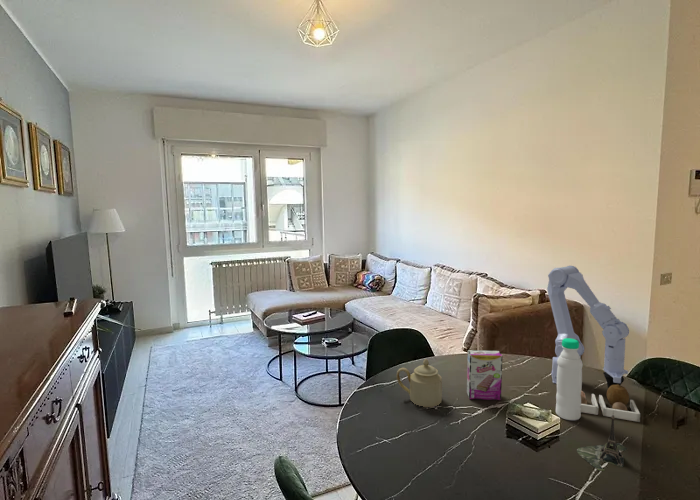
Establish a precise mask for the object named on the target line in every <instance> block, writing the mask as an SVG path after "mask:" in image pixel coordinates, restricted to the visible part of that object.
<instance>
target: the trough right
mask: <svg viewBox="0 0 700 500" xmlns="http://www.w3.org/2000/svg"><path fill="white" fill-rule="evenodd" d="M598 403H599V404H598V405H599V406H600V409H601V413H602V415H603V417H609V418H612V415H614V419H621V420H627V421H631V422H632V421H633V422H638V423H641V413H640V411H639V409H638V407H637V405H636V402H635V400H634V399H629V407H630V408H629V409H630V411H629V410H627V411H624V410H618V409H612V407H611V408H609V407H607V406H606V402H605V401H604V397H603V395H602V394H599V395H598Z"/></svg>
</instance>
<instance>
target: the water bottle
mask: <svg viewBox="0 0 700 500" xmlns="http://www.w3.org/2000/svg"><path fill="white" fill-rule="evenodd" d="M562 347H563V351H562V352H561V354H560V356H559V357H558V359H557V364H558V368H557V383H556V395H555V399H556V401H555V403H556V404H555V414H556V415H557V416H558V417H560V418H561V419H564V420H566V421H578V420H579V419H580V418H581V413H582V412H581V408H580V406H581V390H582V386H583V369H582V368H583V366H584V364H583V361H582V358H581V356H579V354H578V353H577V350H578V348H579V342H578V341H577V340H575V339H571V338H565V339H563V340H562Z"/></svg>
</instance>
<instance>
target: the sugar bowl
mask: <svg viewBox="0 0 700 500" xmlns="http://www.w3.org/2000/svg"><path fill="white" fill-rule="evenodd" d="M429 364H430V363H429V360H428V359H427V358H425V359H424V360H423V363H422V364H420V365H418V366H417V367H415V368H414V369H413V372H412V373H411V372H410V370H408V368H406V367H400V368H398V370H397V371H396V380H397V381H396V382H397V383H398V384H399V386H400V387H401V388H402V390H403V391H405V392H406V393H407V394H408V395H409V398H410V402H411V401H412V402H413V403H414V404H413V403H412V402H411V403H412V404H413V405H415V404H416V405H415V406H417V405H419V406H418V407H420V406H423V407H422V408H428V407H430V408H435V407H434V406H436V407H438V406H440V405H439V404H440V403H441V404H442V400H443V399H442V398H443V377H442V376H441V375H440V374H439V370H438V369H437V368H436V367H434V366H432V365H429ZM401 372H404V373H405V374H406V376H407V379H408V382H409V388H408V387H407V386H405V385H404V383H402V381H401V378H400V373H401ZM437 405H438V406H437Z"/></svg>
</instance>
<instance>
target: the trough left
mask: <svg viewBox="0 0 700 500" xmlns="http://www.w3.org/2000/svg"><path fill="white" fill-rule="evenodd" d="M590 399H591V401H590V402H591V404H587V405H586V404H581V406H580V408H581V413H585V414H590V415H595V416H596V415H598V416H599V404H598V400H597V399H596V395H595V394H594V393H591V398H590Z"/></svg>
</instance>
